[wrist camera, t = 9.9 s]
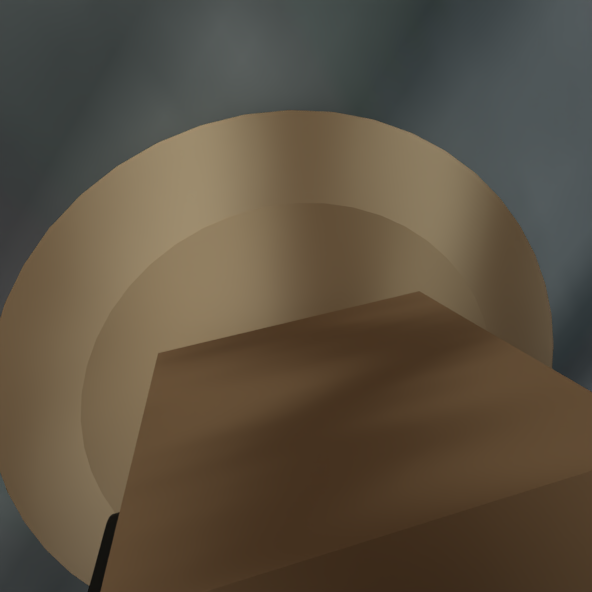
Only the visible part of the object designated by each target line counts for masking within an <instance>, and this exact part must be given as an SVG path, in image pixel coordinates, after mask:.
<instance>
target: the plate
mask: <svg viewBox="0 0 592 592" xmlns="http://www.w3.org/2000/svg"><path fill="white" fill-rule="evenodd" d="M418 291H420V292H422V293H423V294H425V295H427V296H429V297H430V298H432V299H434V300H435V301H437V302H439V303H440V304H442V305H444V306H446V307H447V308H449V309H451V310H452V311H454V312H456V313H458V314H459V315H461V316H463V317H464V318H466V319H468V320H469V321H471V322H473V323H475V324H476V325H478V326H480V327H481V328H483V329H485V330H487V331H488V332H490V333H492V334H493V335H495V336H497V337H498V338H500V339H502V340H504V341H505V342H507V343H509V344H510V345H512V346H514V347H515V348H517V349H519V350H521V351H522V352H524V353H526V354H527V355H529V356H531V357H533V358H534V359H536V360H538V361H539V362H541V363H543V364H544V365H546V366H548V367H550V368H551V369H552V357H553V333H552V317H551V311H550V305H549V300H548V295H547V290H546V285H545V282H544V279H543V276H542V273H541V271H540V268H539V265H538V262H537V259H536V256H535V254H534V252H533V250H532V248H531V246H530V244H529V242H528V240H527V238H526V236H525V235H524V233H523V231H522V229H521V227H520V225H519V224H518V222H517V221H516V220H515V218H514V217H513V215H512V214H511V213H510V211H509V210H508V209H507V207H506V206H505V204H504V203H503V202H502V200H501V199H500V198H499V197H498V196H497V195H496V194H495V193H494V192H493V191H492V190H491V189H490V188H489V187H488V186H487V185H486V184H485V183H484V182H483V181H482V179H481V178H480V177H479V176H478V175H477V174H476V173H474V172H473V171H472V170H470V169H469V168H468V167H466V166H465V165H464V164H462V163H461V162H460V161H458V160H457V159H456V158H454V157H453V156H452V155H450V154H449V153H447V152H446V151H444V150H443V149H441V148H439V147H437V146H435V145H433V144H431V143H429V142H427V141H426V140H424V139H422V138H420V137H418V136H416V135H414V134H412V133H410V132H407V131H404V130H401V129H398V128H396V127H393V126H390V125H387V124H384V123H381V122H379V121H376V120H372V119H367V118H361V117H356V116H351V115H346V114H341V113H335V112H320V111H298V110H286V111H276V112H266V113H256V114H246V115H241V116H237V117H233V118H229V119H225V120H221V121H217V122H213V123H209V124H205V125H201V126H198V127H196V128H193V129H191V130H188V131H186V132H183V133H181V134H178V135H176V136H173V137H171V138H168V139H166V140H164V141H161V142H159V143H157V144H155V145H153V146H151V147H150V148H148V149H146V150H144V151H143V152H141V153H139V154H138V155H136V156H134V157H132V158H131V159H129V160H127V161H125V162H124V163H122V164H120V165H119V166H117V167H116V168H114V169H113V170H112V171H111V172H109V173H108V174H107V175H105V176H104V177H103V178H102V179H100V180H99V181H98V182H97V183H95V184H94V185H93V186H92V187H90V188H89V189H88V190H86V191H85V192H84V193H83V194H81V195H80V196H79V197H78V198H77V199H76V201H75V202H74V203H73V204H72V205H71V206H70V207H69V208H68V209H67V210H66V211H65V212H64V213H63V214H62V215H61V216H60V218H59V219H58V220H57V221H56V222H55V223H54V224H53V225H52V226H51V227H50V228H49V229H48V231H47V232H46V234H45V235H44V237H43V238H42V240H41V241H40V242H39V244H38V245H37V247H36V248H35V250H34V251H33V252H32V254H31V255H30V257H29V258H28V260H27V261H26V263H25V264H24V266H23V268H22V270H21V272H20V274H19V276H18V278H17V280H16V282H15V284H14V286H13V288H12V290H11V292H10V294H9V296H8V298H7V300H6V303H5V305H4V308H3V311H2V315H1V318H0V472H1V475H2V478H3V481H4V483H5V486H6V489H7V491H8V493H9V495H10V497H11V499H12V501H13V502H14V504H15V506H16V508H17V509H18V511H19V513H20V515H21V516H22V518H23V520H24V522H25V523H26V525H27V526H28V527H29V528H30V530H31V531H32V532H33V534H34V535H35V536H36V537H37V539H38V540H39V541H40V542H41V544H42V545H43V546H44V547H45V549H46V550H47V551H48V552H49V553H50V554H51V555H52V556H53V557H55V558H56V559H57V560H58V561H59V562H60V563H61V564H62V565H63V566H64V567H65V568H66V569H67V570H68V571H69V572H70V573H72V574H73V575H75V576H76V577H77V578H79V579H80V580H82V581H83V582H84V583H86V584H87V585H89V586H90V582H91V578H92V575H93V571H94V567H95V563H96V560H97V556H98V552H99V549H100V545H101V541H102V538H103V534H104V530H105V527H106V523H107V521H108V518H109V517H110V516H111V515H112V514H115V513H118V512H120V509H121V504H122V500H123V496H124V492H125V488H126V484H127V480H128V475H129V471H130V467H131V463H132V459H133V455H134V451H135V446H136V442H137V438H138V434H139V430H140V426H141V422H142V418H143V413H144V409H145V405H146V401H147V397H148V393H149V389H150V384H151V380H152V376H153V372H154V368H155V364H156V360H157V355H158V353H161V352H165V351H169V350H173V349H178V348H182V347H186V346H190V345H195V344H199V343H203V342H207V341H211V340H216V339H220V338H224V337H228V336H232V335H237V334H241V333H245V332H249V331H254V330H258V329H262V328H266V327H270V326H275V325H279V324H283V323H287V322H291V321H296V320H300V319H304V318H308V317H312V316H317V315H321V314H325V313H329V312H334V311H338V310H342V309H346V308H350V307H355V306H359V305H363V304H367V303H371V302H376V301H380V300H384V299H388V298H393V297H397V296H401V295H405V294H409V293H414V292H418Z"/></svg>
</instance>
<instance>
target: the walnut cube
mask: <svg viewBox="0 0 592 592" xmlns="http://www.w3.org/2000/svg"><path fill="white" fill-rule="evenodd" d="M100 592H592V392H591V391H589V390H587V389H585V388H584V387H582V386H580V385H579V384H577V383H575V382H573V381H572V380H570V379H568V378H567V377H565V376H563V375H562V374H560V373H558V372H556V371H555V370H553V369H551V368H550V367H548V366H546V365H544V364H543V363H541V362H539V361H538V360H536V359H534V358H533V357H531V356H529V355H527V354H526V353H524V352H522V351H521V350H519V349H517V348H515V347H514V346H512V345H510V344H509V343H507V342H505V341H504V340H502V339H500V338H498V337H497V336H495V335H493V334H492V333H490V332H488V331H487V330H485V329H483V328H481V327H480V326H478V325H476V324H475V323H473V322H471V321H469V320H468V319H466V318H464V317H463V316H461V315H459V314H458V313H456V312H454V311H452V310H451V309H449V308H447V307H446V306H444V305H442V304H440V303H439V302H437V301H435V300H434V299H432V298H430V297H429V296H427V295H425V294H423V293H422V292H420V291H418V292H414V293H409V294H405V295H401V296H397V297H393V298H388V299H384V300H380V301H376V302H371V303H367V304H363V305H359V306H355V307H350V308H346V309H342V310H338V311H334V312H329V313H325V314H321V315H317V316H312V317H308V318H304V319H300V320H296V321H291V322H287V323H283V324H279V325H275V326H270V327H266V328H262V329H258V330H254V331H249V332H245V333H241V334H237V335H232V336H228V337H224V338H220V339H216V340H211V341H207V342H203V343H199V344H195V345H190V346H186V347H182V348H178V349H173V350H169V351H165V352H161V353H158V355H157V360H156V364H155V368H154V372H153V376H152V380H151V384H150V389H149V393H148V397H147V401H146V405H145V409H144V413H143V418H142V422H141V426H140V430H139V434H138V438H137V442H136V446H135V451H134V455H133V459H132V463H131V467H130V471H129V475H128V480H127V484H126V488H125V492H124V496H123V500H122V504H121V509H120V513H119V517H118V521H117V525H116V529H115V533H114V538H113V542H112V546H111V550H110V554H109V558H108V562H107V567H106V571H105V575H104V579H103V583H102V587H101V591H100Z"/></svg>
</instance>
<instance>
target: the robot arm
mask: <svg viewBox="0 0 592 592" xmlns="http://www.w3.org/2000/svg"><path fill="white" fill-rule="evenodd" d="M119 513H120V512H118V513H115V514H112V515H111V516H110V517H109V518H108V521H107V523H106V527H105V530H104V534H103V538H102V541H101V545H100V549H99V552H98V556H97V560H96V563H95V567H94V571H93V575H92V578H91V582H90V586H89V589H88V592H100V591H101V587H102V583H103V579H104V575H105V571H106V567H107V562H108V558H109V554H110V550H111V546H112V542H113V538H114V533H115V529H116V525H117V521H118V517H119Z"/></svg>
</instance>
